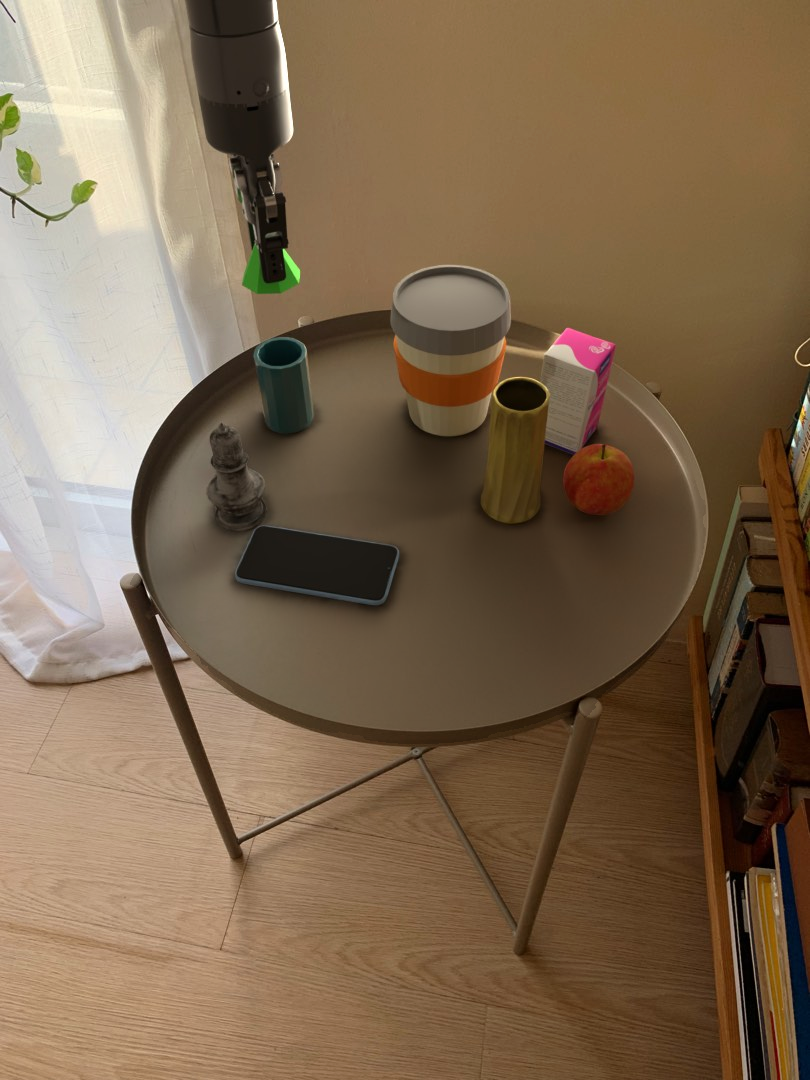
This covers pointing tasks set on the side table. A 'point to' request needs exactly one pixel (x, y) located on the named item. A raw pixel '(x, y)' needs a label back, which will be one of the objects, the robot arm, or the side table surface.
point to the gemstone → (256, 282)
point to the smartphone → (318, 565)
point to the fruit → (598, 479)
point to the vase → (515, 450)
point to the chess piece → (234, 483)
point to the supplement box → (575, 388)
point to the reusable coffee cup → (449, 344)
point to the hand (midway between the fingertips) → (268, 266)
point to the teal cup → (284, 384)
